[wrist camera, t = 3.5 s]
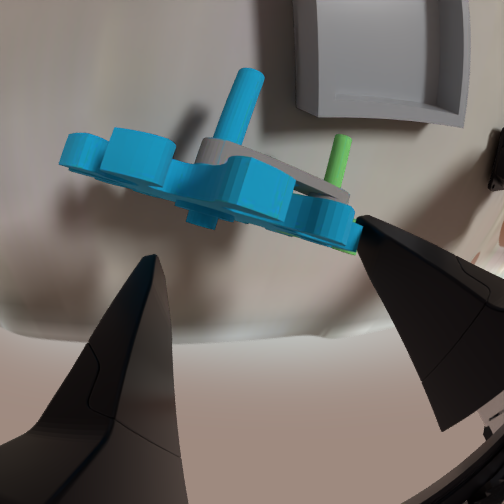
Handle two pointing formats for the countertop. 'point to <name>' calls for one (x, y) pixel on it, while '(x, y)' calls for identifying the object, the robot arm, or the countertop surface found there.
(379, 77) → the tray
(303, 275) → the countertop surface
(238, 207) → the gear
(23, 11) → the countertop surface
